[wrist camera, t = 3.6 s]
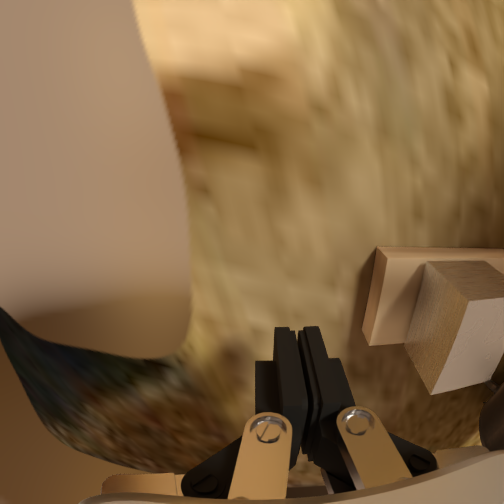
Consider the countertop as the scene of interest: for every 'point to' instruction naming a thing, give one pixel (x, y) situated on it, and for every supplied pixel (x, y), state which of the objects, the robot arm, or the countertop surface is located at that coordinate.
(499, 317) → the block
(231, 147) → the countertop surface
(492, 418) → the alarm clock
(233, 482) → the robot arm
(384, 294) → the track
